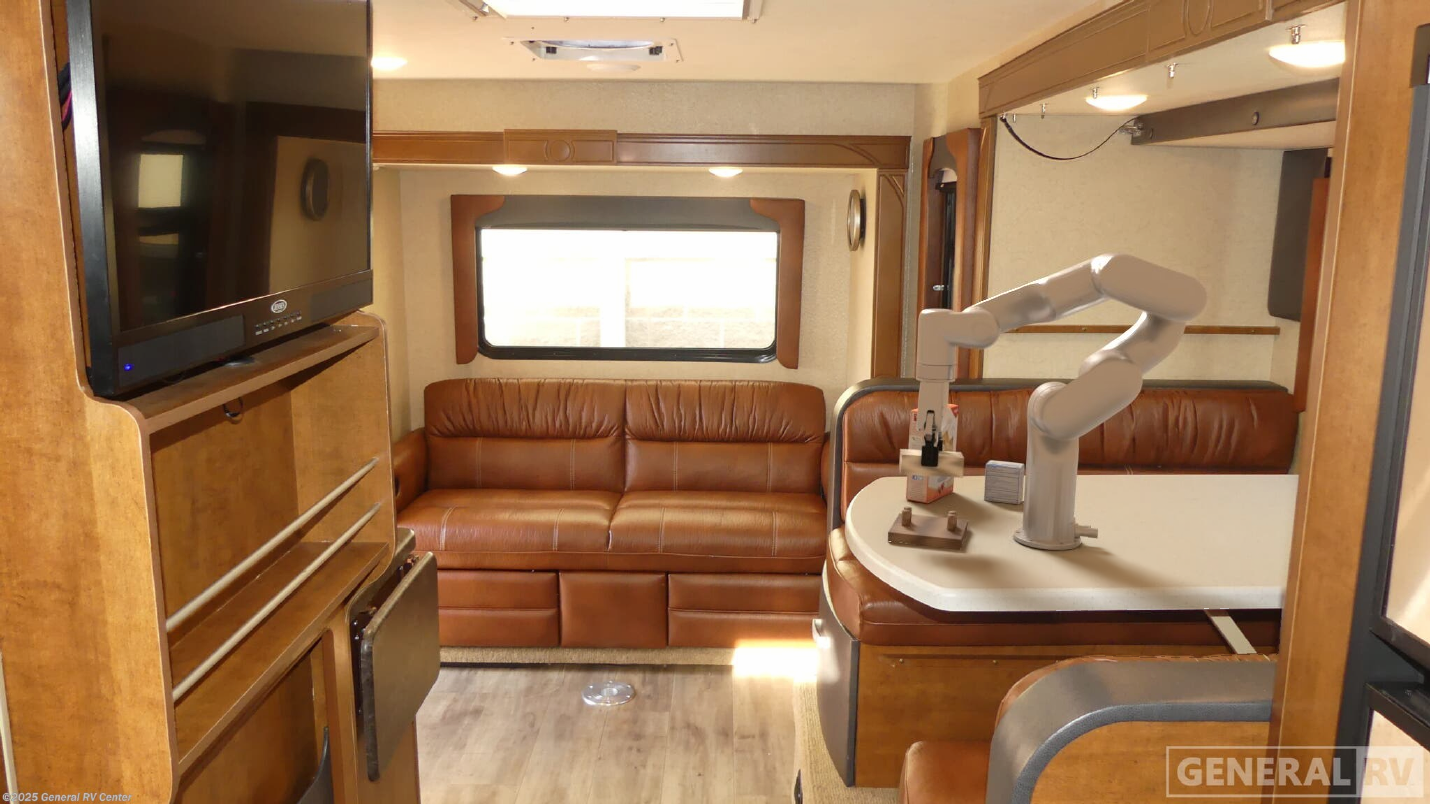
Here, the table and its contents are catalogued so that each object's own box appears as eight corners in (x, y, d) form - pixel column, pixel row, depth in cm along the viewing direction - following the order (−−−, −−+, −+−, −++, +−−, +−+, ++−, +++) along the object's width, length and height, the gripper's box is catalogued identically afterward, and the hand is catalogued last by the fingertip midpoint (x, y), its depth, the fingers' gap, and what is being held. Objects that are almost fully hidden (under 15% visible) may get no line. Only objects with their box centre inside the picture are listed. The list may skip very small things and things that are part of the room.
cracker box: (929, 505, 225) (933, 412, 222) (904, 500, 229) (908, 409, 225) (955, 492, 236) (959, 404, 233) (931, 488, 240) (935, 401, 236)
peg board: (967, 529, 207) (968, 505, 206) (960, 549, 194) (961, 524, 193) (899, 522, 212) (900, 499, 211) (887, 541, 199) (888, 517, 198)
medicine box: (1023, 500, 229) (1025, 463, 228) (1019, 505, 226) (1021, 467, 224) (987, 496, 233) (989, 459, 232) (983, 500, 229) (985, 463, 228)
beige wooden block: (959, 471, 203) (961, 452, 202) (962, 477, 198) (964, 457, 197) (899, 468, 204) (900, 449, 203) (900, 474, 199) (901, 454, 198)
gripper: (922, 365, 207) (918, 452, 210) (909, 377, 191) (905, 470, 194) (960, 367, 204) (955, 455, 207) (950, 379, 188) (945, 474, 191)
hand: (931, 461), depth 200 cm, fingers closed on beige wooden block, 5 cm apart
